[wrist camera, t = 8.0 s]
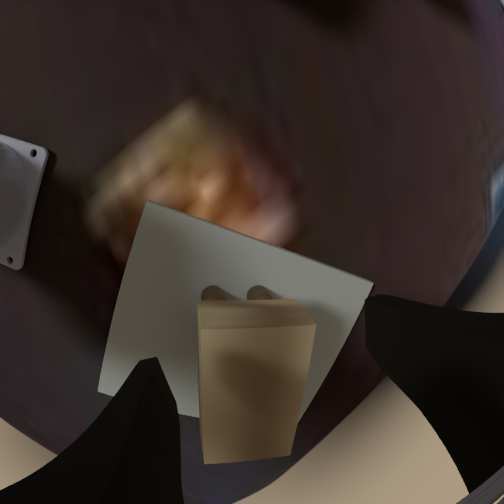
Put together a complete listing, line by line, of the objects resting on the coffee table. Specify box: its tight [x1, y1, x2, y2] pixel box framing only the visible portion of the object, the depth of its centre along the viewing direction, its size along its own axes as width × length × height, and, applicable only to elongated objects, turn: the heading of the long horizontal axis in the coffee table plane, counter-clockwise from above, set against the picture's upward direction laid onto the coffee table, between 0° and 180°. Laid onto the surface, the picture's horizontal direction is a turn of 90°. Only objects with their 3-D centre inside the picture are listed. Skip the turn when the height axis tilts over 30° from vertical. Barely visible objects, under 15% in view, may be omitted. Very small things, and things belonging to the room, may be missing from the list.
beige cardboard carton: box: [197, 285, 316, 464], centre depth 17 cm, size 5×9×6 cm, turn 176°
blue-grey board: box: [98, 200, 374, 422], centre depth 21 cm, size 16×14×1 cm
